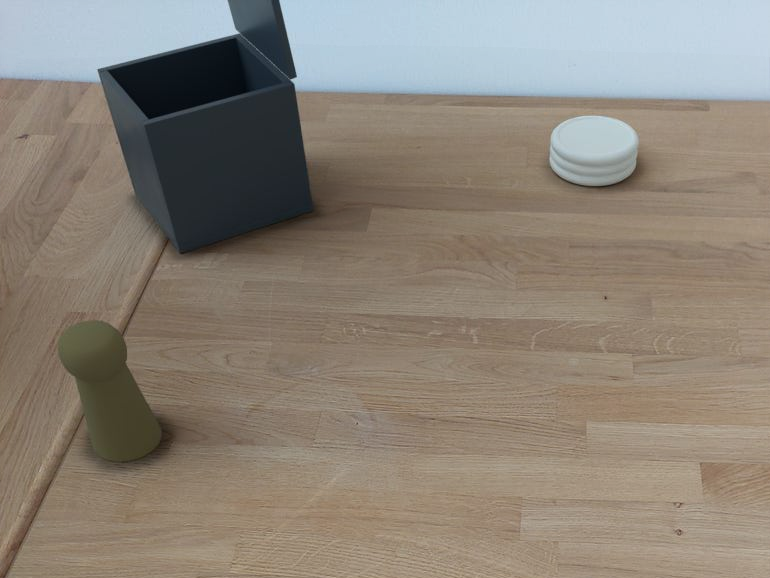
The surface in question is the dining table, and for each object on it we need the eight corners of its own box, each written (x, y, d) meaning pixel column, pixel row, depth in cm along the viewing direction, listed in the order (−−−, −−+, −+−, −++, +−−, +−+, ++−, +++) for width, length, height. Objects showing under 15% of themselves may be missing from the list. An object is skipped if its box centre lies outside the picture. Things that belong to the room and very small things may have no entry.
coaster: (652, 163, 112) (657, 132, 109) (600, 198, 107) (603, 167, 105) (584, 135, 116) (587, 104, 113) (531, 167, 111) (532, 136, 109)
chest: (180, 253, 101) (144, 124, 91) (135, 195, 108) (96, 68, 97) (313, 210, 106) (294, 83, 95) (262, 157, 113) (239, 32, 102)
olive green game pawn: (77, 444, 84) (29, 338, 75) (128, 406, 87) (88, 300, 78) (125, 471, 82) (82, 366, 73) (176, 432, 85) (141, 325, 76)
